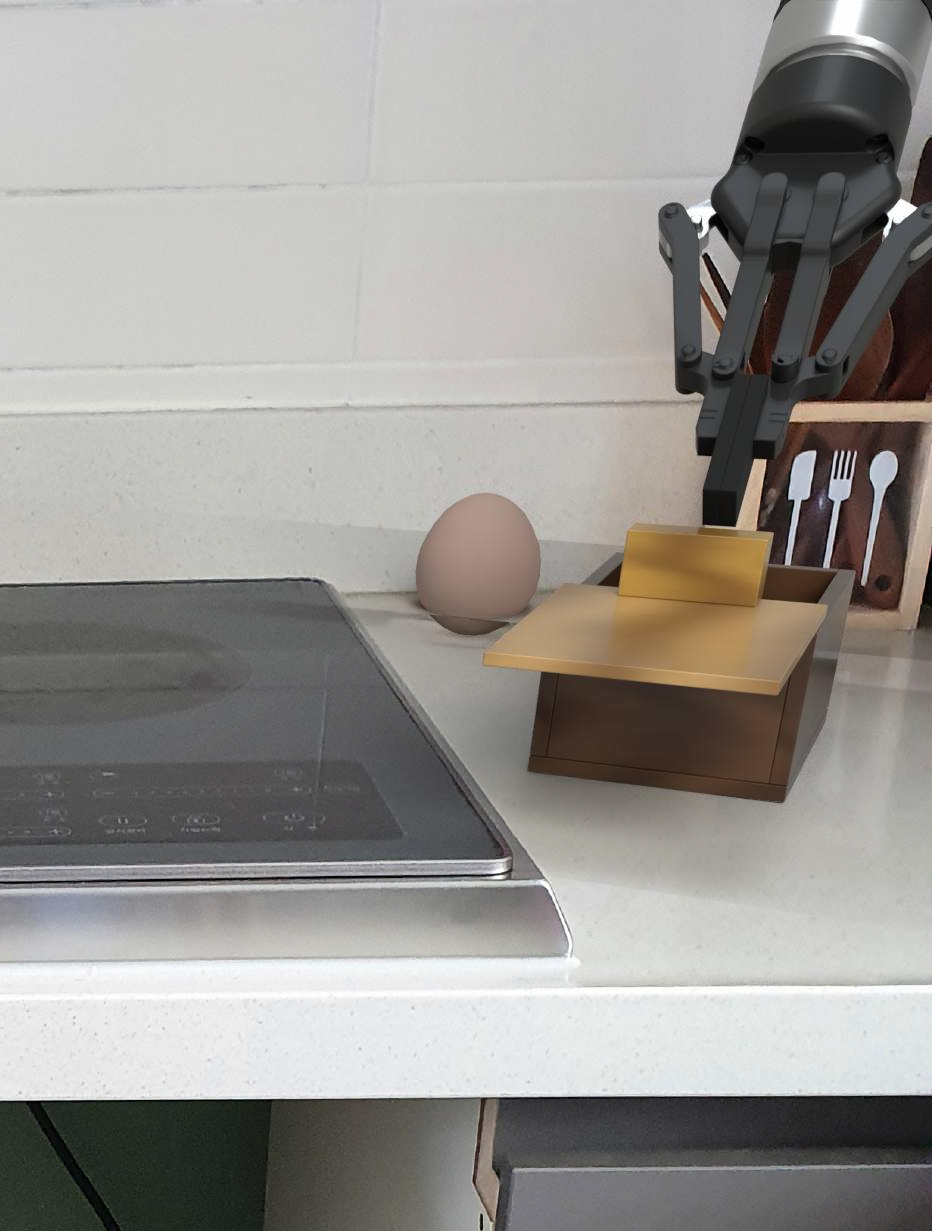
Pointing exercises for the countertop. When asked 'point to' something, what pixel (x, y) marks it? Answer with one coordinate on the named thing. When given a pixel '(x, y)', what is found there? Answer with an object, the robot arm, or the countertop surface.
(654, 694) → the box
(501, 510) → the egg
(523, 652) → the lid
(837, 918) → the countertop surface
